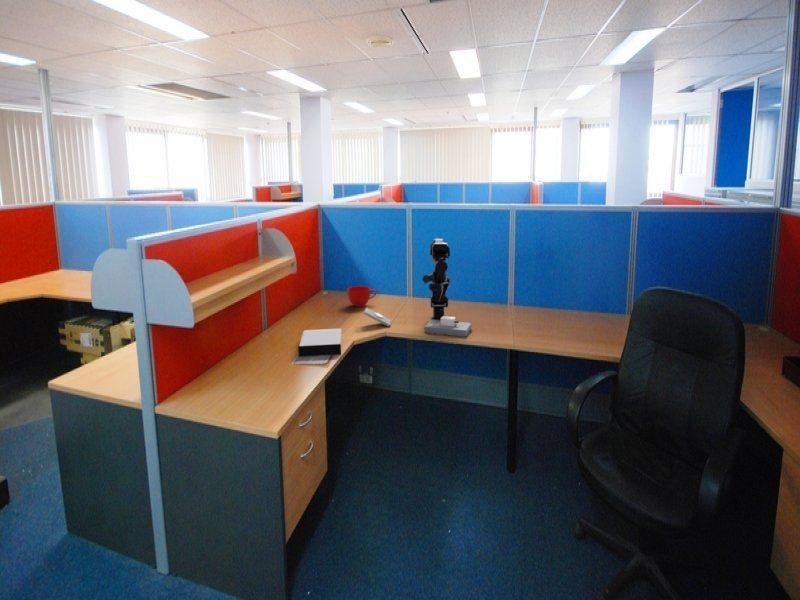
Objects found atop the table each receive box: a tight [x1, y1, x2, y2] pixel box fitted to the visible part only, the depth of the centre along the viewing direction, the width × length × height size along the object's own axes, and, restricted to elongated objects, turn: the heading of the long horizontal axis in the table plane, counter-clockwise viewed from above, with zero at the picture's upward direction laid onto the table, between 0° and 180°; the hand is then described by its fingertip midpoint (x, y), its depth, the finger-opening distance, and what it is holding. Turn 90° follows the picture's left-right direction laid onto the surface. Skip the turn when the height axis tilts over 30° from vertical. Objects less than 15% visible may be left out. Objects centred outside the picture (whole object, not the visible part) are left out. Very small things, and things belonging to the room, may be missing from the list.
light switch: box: [363, 307, 392, 327], centre depth 241 cm, size 8×6×14 cm
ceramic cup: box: [346, 285, 378, 308], centre depth 276 cm, size 13×17×10 cm
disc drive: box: [297, 328, 343, 357], centre depth 211 cm, size 18×22×5 cm
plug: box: [441, 315, 460, 327], centre depth 229 cm, size 4×8×6 cm, turn 70°
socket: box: [424, 319, 472, 337], centre depth 229 cm, size 12×20×3 cm, turn 70°
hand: (440, 300), depth 235 cm, fingers open, 9 cm apart
